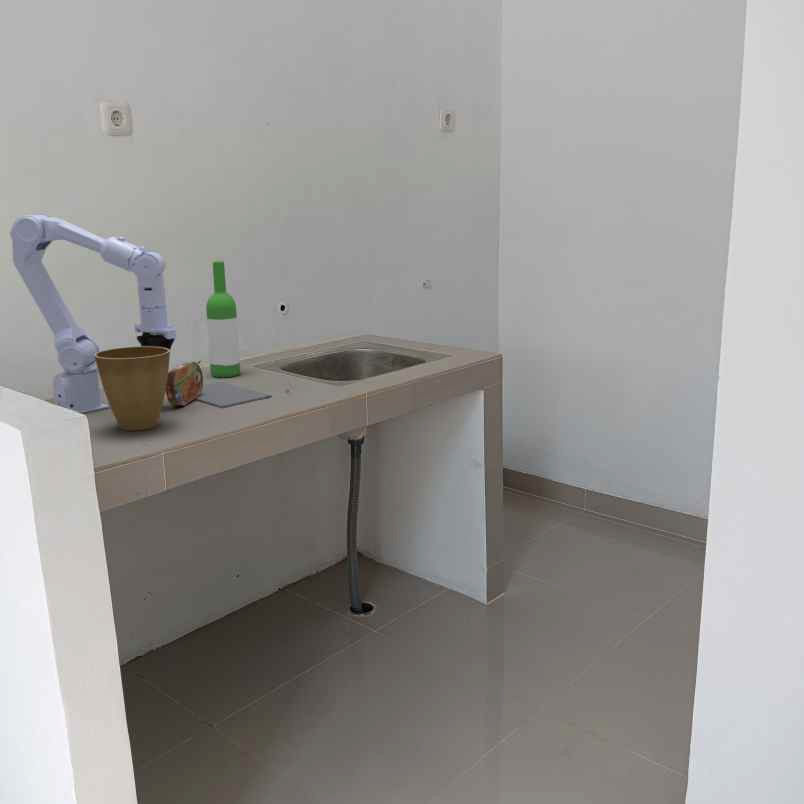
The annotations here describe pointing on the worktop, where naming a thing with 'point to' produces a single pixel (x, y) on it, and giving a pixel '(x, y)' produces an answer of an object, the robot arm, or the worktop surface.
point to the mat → (228, 394)
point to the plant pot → (134, 384)
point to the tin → (184, 384)
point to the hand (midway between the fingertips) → (158, 366)
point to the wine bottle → (222, 327)
